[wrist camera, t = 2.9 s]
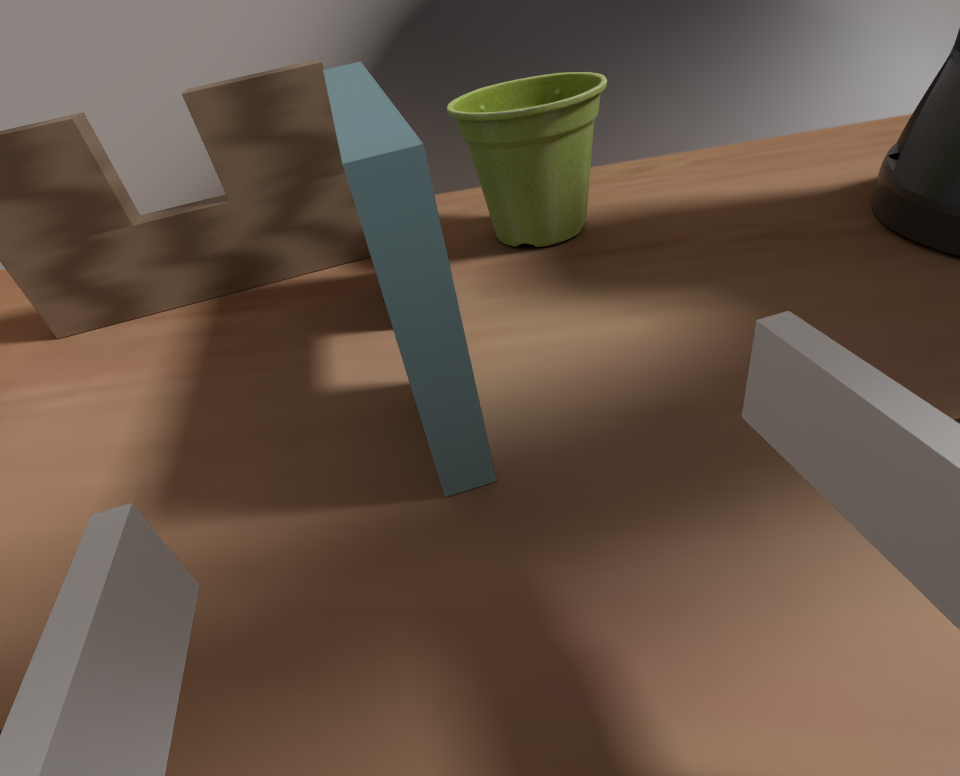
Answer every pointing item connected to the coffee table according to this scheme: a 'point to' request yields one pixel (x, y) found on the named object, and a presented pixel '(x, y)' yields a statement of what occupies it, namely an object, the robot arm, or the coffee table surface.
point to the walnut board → (179, 207)
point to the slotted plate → (412, 271)
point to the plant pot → (533, 152)
